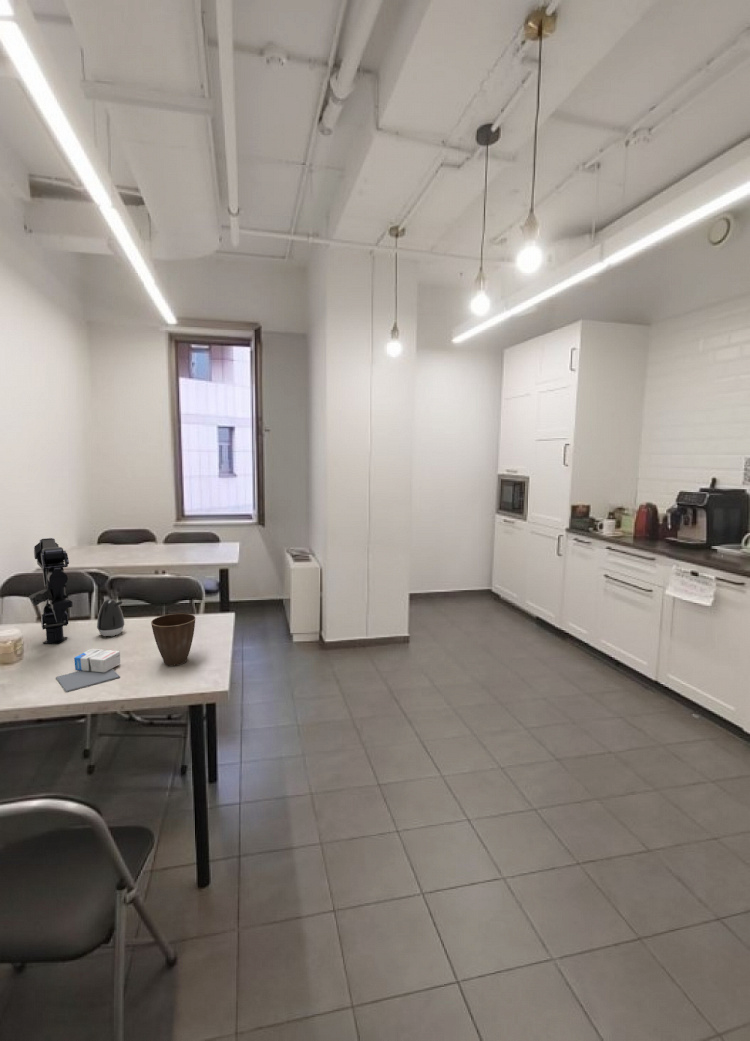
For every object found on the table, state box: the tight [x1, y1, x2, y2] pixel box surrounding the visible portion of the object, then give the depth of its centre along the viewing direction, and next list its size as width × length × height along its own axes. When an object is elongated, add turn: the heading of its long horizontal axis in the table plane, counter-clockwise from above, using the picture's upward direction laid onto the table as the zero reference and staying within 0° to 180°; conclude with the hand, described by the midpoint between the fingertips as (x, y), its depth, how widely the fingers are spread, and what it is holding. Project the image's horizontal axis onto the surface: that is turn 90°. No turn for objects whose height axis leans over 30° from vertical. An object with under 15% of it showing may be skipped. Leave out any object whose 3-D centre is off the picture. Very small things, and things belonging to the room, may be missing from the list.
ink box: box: [73, 648, 121, 673], centre depth 180 cm, size 9×5×12 cm
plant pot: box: [150, 613, 196, 667], centre depth 186 cm, size 15×15×16 cm
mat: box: [55, 668, 121, 693], centre depth 173 cm, size 14×16×1 cm
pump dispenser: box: [96, 598, 125, 637], centre depth 214 cm, size 10×10×15 cm
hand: (58, 622), depth 193 cm, fingers closed
